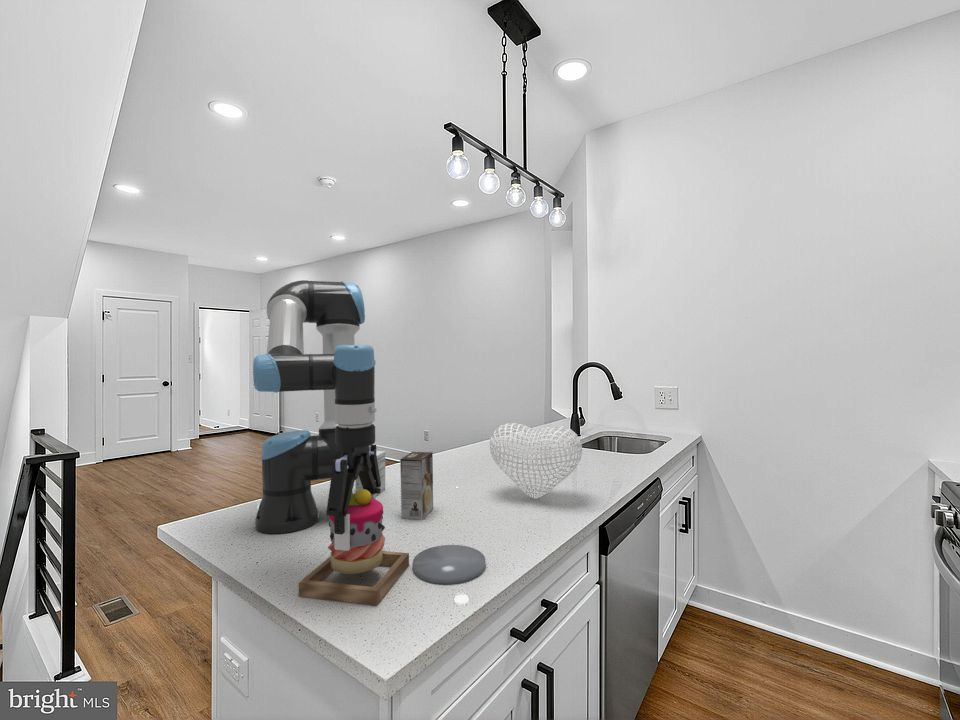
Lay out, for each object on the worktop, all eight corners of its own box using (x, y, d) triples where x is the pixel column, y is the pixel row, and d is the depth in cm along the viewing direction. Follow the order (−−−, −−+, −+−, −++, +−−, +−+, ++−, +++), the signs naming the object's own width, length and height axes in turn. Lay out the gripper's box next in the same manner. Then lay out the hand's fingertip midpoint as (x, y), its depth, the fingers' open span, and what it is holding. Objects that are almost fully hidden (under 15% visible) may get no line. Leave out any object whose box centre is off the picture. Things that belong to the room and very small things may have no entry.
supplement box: (354, 495, 142) (354, 454, 142) (364, 488, 149) (364, 449, 149) (377, 496, 141) (376, 455, 141) (386, 489, 148) (385, 450, 148)
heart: (481, 500, 137) (481, 425, 136) (501, 485, 151) (500, 418, 150) (575, 513, 125) (575, 431, 125) (587, 496, 139) (586, 423, 139)
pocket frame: (298, 596, 84) (298, 582, 84) (341, 558, 99) (341, 547, 99) (377, 605, 80) (377, 591, 80) (409, 565, 96) (408, 553, 95)
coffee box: (412, 507, 131) (411, 451, 131) (433, 508, 130) (433, 451, 130) (400, 518, 122) (399, 458, 122) (423, 520, 121) (422, 459, 121)
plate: (401, 580, 89) (401, 574, 89) (426, 547, 104) (426, 542, 104) (476, 587, 86) (476, 581, 86) (491, 553, 101) (491, 547, 101)
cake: (389, 549, 95) (389, 477, 95) (376, 575, 85) (375, 495, 84) (339, 548, 96) (338, 477, 95) (320, 574, 85) (319, 494, 84)
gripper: (343, 437, 77) (345, 566, 78) (396, 415, 99) (397, 516, 100) (303, 435, 79) (305, 562, 79) (364, 414, 101) (365, 513, 102)
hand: (356, 536), depth 90 cm, fingers closed on cake, 10 cm apart
